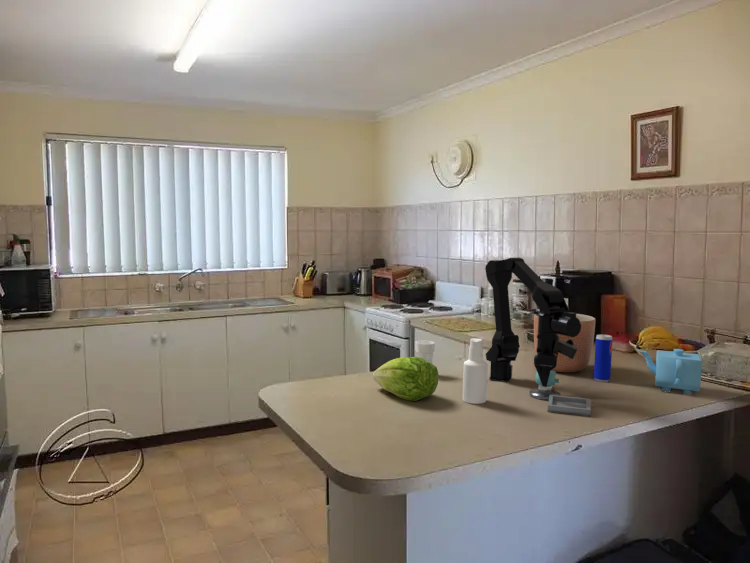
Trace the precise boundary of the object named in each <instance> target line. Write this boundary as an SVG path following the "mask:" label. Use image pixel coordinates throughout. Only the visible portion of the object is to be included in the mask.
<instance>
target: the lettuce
mask: <svg viewBox="0 0 750 563" xmlns="http://www.w3.org/2000/svg"><path fill="white" fill-rule="evenodd" d="M372 378H373V380H374V381H375V382H376V383H377V384H378V385H379V386H380V387H381V388H382V389H384V390H385V391H386V392H390V393H391V394H393V395H395V396H396V397H398V398H400V399H403V400H405V401H409V402H411V401H412V402H416V401H419V400H423V399H424V398H426V397H428V396H431V395H432V394H434V393H435V392H436V390H437V388H438V385H439V371H438V367H437V366H436V365H435V364H433V362H432V363H430V362H428V361H426V360H425V359H423V358H420V357H416V356H408V357H407V356H406V357H405V356H401V357H397V358H394V359H391V360H388V361H387V362H385V363H384V364H382V365H380V367H378V368H377V369H376V370H374V372H373V374H372Z"/></svg>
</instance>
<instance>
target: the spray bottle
mask: <svg viewBox="0 0 750 563" xmlns="http://www.w3.org/2000/svg"><path fill="white" fill-rule="evenodd" d="M469 341H470V342H469V350H468V359H467V360H465V361H464V362H463V369H462V370H463V371H462V372H463V374H462V376H463V377H462V400H463V402H464V403H467V404H471V405H481V404H484V403H486V402H487V393H488V391H487V388H488V366H489V365H488V363H487V362H486V361H484V347H483V338H473V337H472V338H470V340H469Z"/></svg>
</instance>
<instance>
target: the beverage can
mask: <svg viewBox="0 0 750 563" xmlns="http://www.w3.org/2000/svg"><path fill="white" fill-rule="evenodd" d="M594 345H595V347H594V366H593V378H594V380H595V381H596V382H597V381H598V382H602V383H606V382H607V383H608V382H610V380H611V376H612V375H611V373H612V356H613V355H612V354H613V353H612V352H613V336H612V335H609V334H596V337H595V344H594Z"/></svg>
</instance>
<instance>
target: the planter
mask: <svg viewBox="0 0 750 563" xmlns="http://www.w3.org/2000/svg"><path fill="white" fill-rule="evenodd" d="M538 317H539V315H536V314H533V345H534V346H533V347H534V356H535V355H536V354H537V352H536V351H537V334H538ZM576 318H578V319H579V321H580V324H581V330H580V332H579V334H578V335H577V336H575V337H569V336H565V335H561V334H558V335H559V339H560V340H562V341H563V340H564V341H566V340H568V339H571V340H573V344H574V346H576V347H577V351H576V354H575V356H574V358H573V359H571V358H569V357H568V356H566V355H563V354H561V353H559V352H558V355H557V356H558V357H557V365H556V367H555V368H554V369H552V370H553V371H555V372H556V373H567V374H568V373H577V372H580V371H582V370H584V369H585V368H587V366H588V365H589V363H590V360H591V358H592V353H593V350H594V349H593V348H594V342H595V341H594V340H595V332H596V317H593V316H591V315H586V314H582V313H576ZM554 355H556V354H554Z"/></svg>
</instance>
